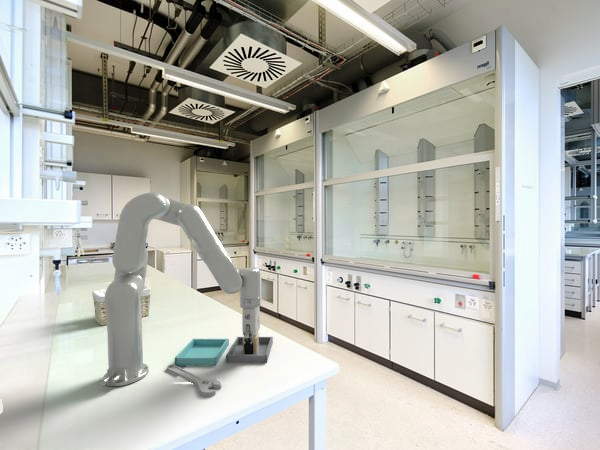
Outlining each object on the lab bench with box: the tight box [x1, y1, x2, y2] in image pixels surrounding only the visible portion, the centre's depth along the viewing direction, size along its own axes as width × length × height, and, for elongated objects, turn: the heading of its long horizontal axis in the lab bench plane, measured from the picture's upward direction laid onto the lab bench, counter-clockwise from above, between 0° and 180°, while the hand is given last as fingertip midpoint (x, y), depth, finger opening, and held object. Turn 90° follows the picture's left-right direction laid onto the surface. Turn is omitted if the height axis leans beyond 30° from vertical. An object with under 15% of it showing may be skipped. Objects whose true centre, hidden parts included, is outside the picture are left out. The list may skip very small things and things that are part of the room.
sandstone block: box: [242, 332, 260, 355], centre depth 111 cm, size 5×5×6 cm
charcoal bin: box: [225, 336, 274, 364], centre depth 111 cm, size 16×14×3 cm
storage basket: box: [91, 284, 152, 326], centre depth 152 cm, size 24×16×15 cm
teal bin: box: [174, 338, 230, 368], centre depth 109 cm, size 16×14×3 cm
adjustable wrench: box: [166, 364, 222, 398], centre depth 94 cm, size 25×6×2 cm, turn 50°
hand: (251, 348), depth 111 cm, fingers open, 7 cm apart
